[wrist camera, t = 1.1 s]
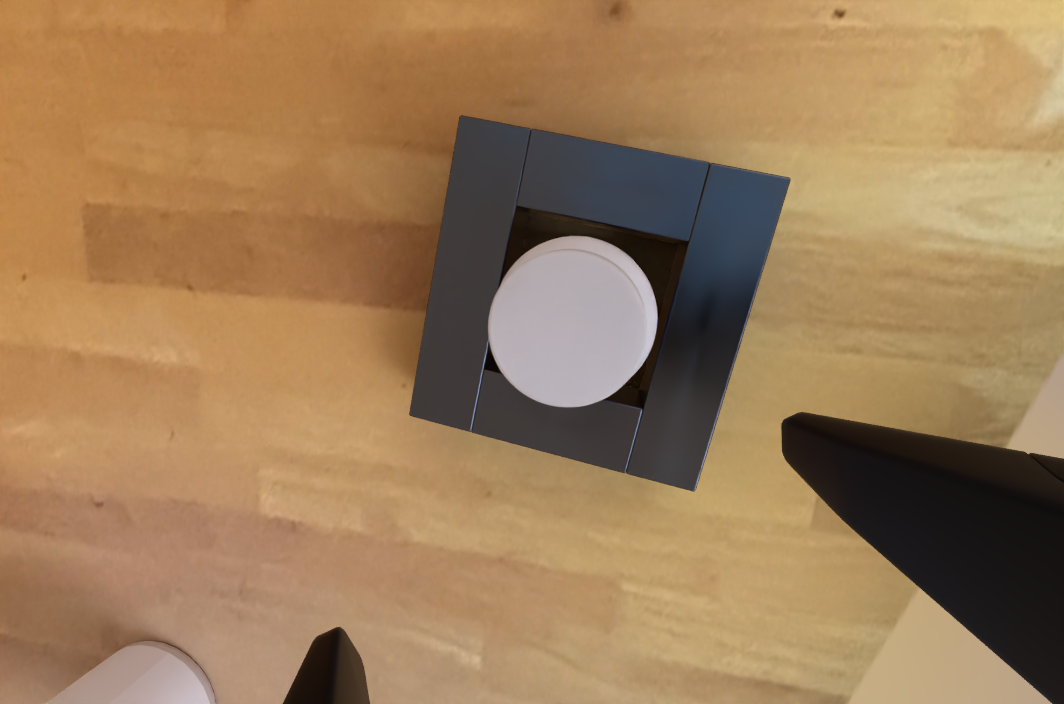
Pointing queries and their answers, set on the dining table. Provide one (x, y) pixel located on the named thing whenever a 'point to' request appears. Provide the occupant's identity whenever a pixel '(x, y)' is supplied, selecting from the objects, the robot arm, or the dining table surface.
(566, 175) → the stand
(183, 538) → the dining table surface
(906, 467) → the robot arm
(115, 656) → the mug
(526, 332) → the pill bottle
